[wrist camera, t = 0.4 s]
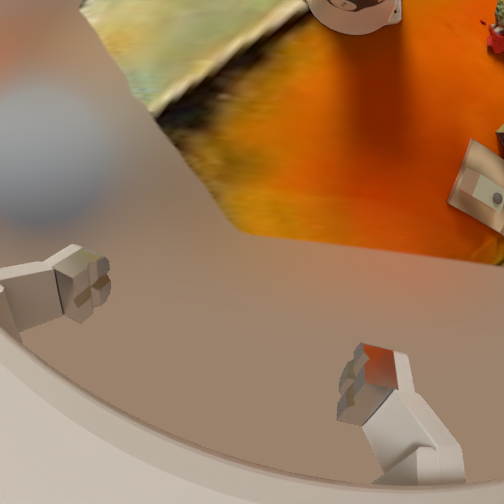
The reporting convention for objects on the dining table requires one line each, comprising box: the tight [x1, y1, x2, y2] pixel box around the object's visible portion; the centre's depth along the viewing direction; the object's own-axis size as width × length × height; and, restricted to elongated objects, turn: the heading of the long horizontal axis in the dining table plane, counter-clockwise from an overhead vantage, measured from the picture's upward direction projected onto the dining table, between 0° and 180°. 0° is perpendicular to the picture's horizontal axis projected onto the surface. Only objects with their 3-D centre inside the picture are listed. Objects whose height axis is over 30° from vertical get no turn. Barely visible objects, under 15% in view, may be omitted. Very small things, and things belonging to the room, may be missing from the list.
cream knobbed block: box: [459, 168, 504, 213], centre depth 38 cm, size 4×7×7 cm, turn 74°
